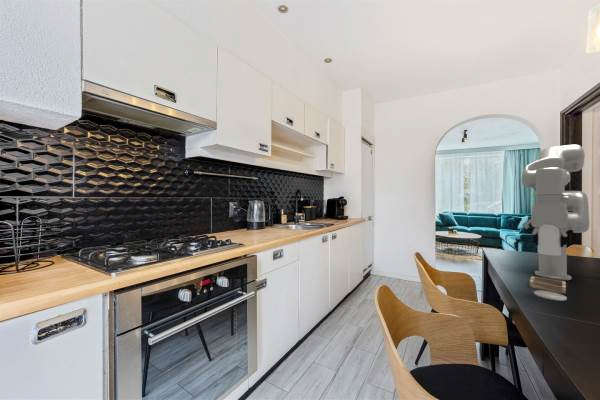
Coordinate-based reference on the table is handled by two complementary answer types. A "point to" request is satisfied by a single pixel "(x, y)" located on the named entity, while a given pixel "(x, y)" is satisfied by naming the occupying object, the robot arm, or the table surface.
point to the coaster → (550, 295)
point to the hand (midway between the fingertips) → (549, 245)
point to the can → (549, 240)
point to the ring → (548, 284)
